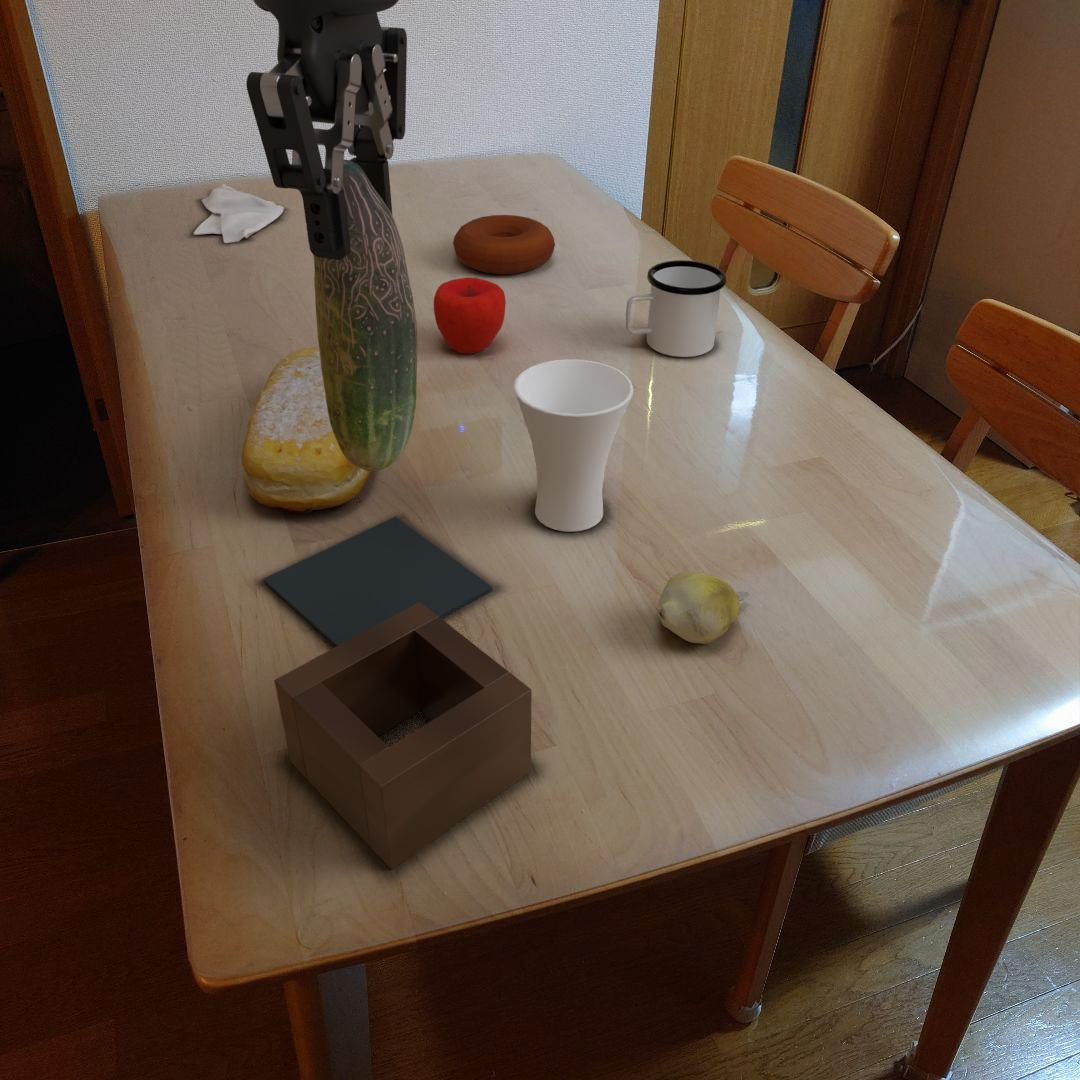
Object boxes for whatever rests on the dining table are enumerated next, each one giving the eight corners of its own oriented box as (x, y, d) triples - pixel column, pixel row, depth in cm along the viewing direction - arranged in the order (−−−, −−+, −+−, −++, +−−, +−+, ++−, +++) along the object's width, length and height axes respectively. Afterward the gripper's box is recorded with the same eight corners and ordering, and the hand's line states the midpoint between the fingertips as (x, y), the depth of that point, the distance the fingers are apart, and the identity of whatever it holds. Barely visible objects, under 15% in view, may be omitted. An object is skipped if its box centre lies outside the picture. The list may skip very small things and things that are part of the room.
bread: (231, 526, 94) (216, 453, 89) (274, 391, 115) (263, 326, 110) (377, 522, 94) (369, 449, 90) (392, 389, 116) (387, 324, 111)
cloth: (281, 240, 154) (278, 226, 152) (187, 245, 152) (184, 230, 150) (286, 187, 174) (284, 174, 173) (204, 191, 172) (201, 177, 171)
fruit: (774, 622, 84) (696, 664, 77) (716, 606, 88) (638, 644, 82) (773, 557, 82) (694, 593, 76) (714, 543, 86) (635, 577, 80)
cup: (596, 557, 90) (604, 426, 82) (494, 526, 94) (491, 397, 86) (640, 499, 98) (651, 374, 90) (544, 472, 102) (546, 349, 94)
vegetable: (317, 452, 69) (275, 150, 57) (400, 429, 72) (376, 136, 60) (352, 493, 65) (315, 177, 53) (439, 467, 68) (422, 161, 56)
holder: (391, 870, 64) (380, 786, 59) (290, 761, 71) (273, 679, 66) (531, 771, 70) (531, 689, 66) (426, 681, 78) (419, 601, 73)
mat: (356, 665, 79) (355, 662, 79) (263, 582, 87) (263, 578, 87) (492, 590, 87) (492, 586, 86) (395, 520, 95) (395, 516, 95)
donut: (517, 235, 156) (517, 203, 153) (574, 265, 147) (576, 231, 144) (434, 255, 149) (433, 221, 146) (489, 287, 140) (489, 252, 137)
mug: (702, 324, 131) (710, 257, 125) (729, 356, 123) (738, 286, 118) (613, 332, 128) (617, 264, 123) (635, 365, 121) (640, 294, 116)
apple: (518, 354, 123) (519, 293, 119) (452, 368, 120) (450, 306, 115) (488, 326, 130) (487, 267, 125) (424, 339, 126) (420, 279, 122)
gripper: (317, -116, 55) (350, 194, 66) (162, -92, 45) (231, 276, 55) (444, -112, 54) (457, 207, 64) (315, -86, 43) (356, 294, 53)
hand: (353, 237), depth 59 cm, fingers closed on vegetable, 5 cm apart
